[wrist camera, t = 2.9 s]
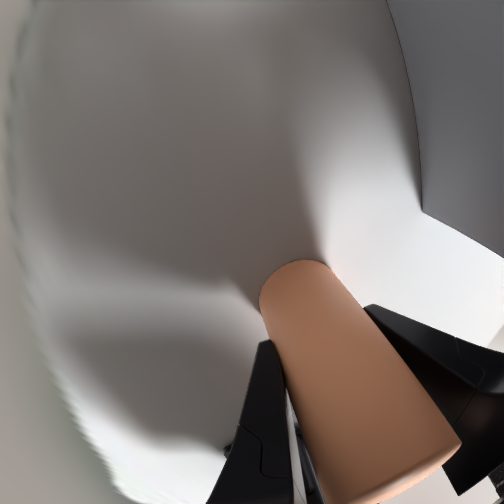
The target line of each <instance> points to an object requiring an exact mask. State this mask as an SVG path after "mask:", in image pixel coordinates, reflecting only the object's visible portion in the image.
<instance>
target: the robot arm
mask: <svg viewBox="0 0 504 504" xmlns="http://www.w3.org/2000/svg"><path fill="white" fill-rule="evenodd" d="M363 309H364V311H365V312H366V313H367V314H368V316H369V317H370V318H371V319H372V321H373V322H374V323H375V324H376V326H377V327H378V328H379V330H380V331H381V332H382V333H383V335H384V336H385V337H386V338H387V340H388V341H389V342H390V344H391V345H392V346H393V347H394V349H395V350H396V351H397V353H398V354H399V355H400V357H401V358H402V359H403V361H404V362H405V363H406V365H407V366H408V367H409V369H410V370H411V371H412V373H413V374H414V375H415V377H416V378H417V379H418V381H419V382H420V383H421V385H422V386H423V388H424V389H425V390H426V392H427V393H428V394H429V396H430V397H431V399H432V400H433V401H434V403H435V404H436V406H437V407H438V408H439V410H440V411H441V413H442V414H443V416H444V417H445V418H446V420H447V421H448V423H449V424H450V426H451V427H452V429H453V430H454V432H455V433H456V435H457V436H458V438H459V439H460V441H461V442H462V444H461V446H460V447H459V449H458V450H457V451H456V452H455V453H454V454H453V455H452V456H451V457H450V458H449V459H448V460H447V461H446V462H445V463H444V464H443V465H441V466H442V468H443V469H444V471H445V473H446V475H447V477H448V478H449V480H450V482H451V484H452V486H453V488H454V490H455V491H456V493H457V495H458V496H460V495H462V494H463V493H465V492H466V491H468V490H469V489H470V488H472V487H473V486H475V485H476V484H477V483H479V482H480V481H481V480H483V479H484V478H485V477H486V476H488V477H489V478H490V480H491V482H492V483H493V485H494V487H495V488H496V492H497V493H498V495H499V497H500V498H499V499H498V500H497V501H496V502H495V503H493V504H504V353H502V352H498V351H494V350H491V349H488V348H485V347H482V346H478V345H475V344H473V343H470V342H467V341H465V340H462V339H460V338H457V337H456V338H455V337H454V336H452V335H450V334H447V333H445V332H442V331H440V330H437V329H435V328H432V327H430V326H428V325H425V324H423V323H420V322H418V321H415V320H413V319H410V318H408V317H405V316H403V315H400V314H398V313H396V312H393V311H391V310H388V309H386V308H383V307H381V306H378V305H376V304H371V305H368V306H366V307H364V308H363ZM223 450H224V456H225V457H226V458H227V460H226V462H225V465H224V467H223V469H222V471H221V473H220V476H219V478H218V480H217V482H216V484H215V486H214V489H213V491H212V493H211V495H210V497H209V499H208V500H207V502H206V504H326V502H325V499H324V496H323V493H322V490H321V488H320V485H319V482H318V479H317V476H316V473H315V470H314V468H313V465H312V462H311V459H310V456H309V453H308V450H307V447H306V445H305V442H304V439H303V436H302V433H301V430H300V428H299V429H296V430H295V428H294V422H293V416H292V411H291V405H290V400H289V396H288V392H287V389H286V386H285V382H284V378H283V374H282V370H281V366H280V363H279V360H278V357H277V354H276V351H275V348H274V346H273V343H272V340H270V339H269V340H265V341H262V342H260V343H259V344H258V348H257V352H256V356H255V360H254V364H253V368H252V372H251V376H250V380H249V384H248V388H247V392H246V396H245V400H244V404H243V408H242V412H241V416H240V419H239V425H238V427H237V430H236V434H235V437H234V441H233V444H232V446H228V447H225V448H224V449H223ZM378 504H379V503H378Z"/></svg>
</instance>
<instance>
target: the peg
mask: <svg viewBox="0 0 504 504" xmlns="http://www.w3.org/2000/svg"><path fill="white" fill-rule="evenodd" d="M259 307H260V311H261V314H262V317H263V320H264V323H265V326H266V329H267V332H268V335H269V338H270V340H272V343H273V346H274V348H275V351H276V354H277V357H278V360H279V363H280V366H281V370H282V374H283V378H284V382H285V386H286V389H287V392H288V395H289V398H290V401H291V404H292V407H293V410H294V412H295V415H296V418H297V421H298V424H299V427H300V430H301V433H302V436H303V439H304V442H305V445H306V447H307V450H308V453H309V456H310V459H311V462H312V465H313V468H314V470H315V473H316V476H317V479H318V482H319V485H320V488H321V490H322V493H323V496H324V499H325V502H326V504H378V503H380V502H382V501H384V500H387V499H389V498H391V497H393V496H395V495H397V494H399V493H401V492H402V491H404V490H406V489H408V488H409V487H411V486H413V485H414V484H416V483H417V482H419V481H421V480H422V479H424V478H425V477H426V476H428V475H430V474H431V473H432V472H433V471H435V470H436V469H438V468H439V467H440V466H441V465H443V464H444V463H445V462H446V461H447V460H448V459H449V458H450V457H451V456H452V455H453V454H454V453H455V452H456V451H457V450H458V449H459V447H460V446H461V444H462V442H461V441H460V439H459V438H458V436H457V435H456V433H455V432H454V430H453V429H452V427H451V426H450V424H449V423H448V421H447V420H446V418H445V417H444V416H443V414H442V413H441V411H440V410H439V408H438V407H437V406H436V404H435V403H434V401H433V400H432V399H431V397H430V396H429V394H428V393H427V392H426V390H425V389H424V388H423V386H422V385H421V383H420V382H419V381H418V379H417V378H416V377H415V375H414V374H413V373H412V371H411V370H410V369H409V367H408V366H407V365H406V363H405V362H404V361H403V359H402V358H401V357H400V355H399V354H398V353H397V351H396V350H395V349H394V347H393V346H392V345H391V344H390V342H389V341H388V340H387V338H386V337H385V336H384V335H383V333H382V332H381V331H380V330H379V328H378V327H377V326H376V324H375V323H374V322H373V321H372V319H371V318H370V317H369V316H368V314H367V313H366V312H365V311H364V309H363V308H362V307H361V306H360V305H359V303H358V302H357V301H356V300H355V298H354V297H353V296H352V295H351V294H350V292H349V291H348V290H347V289H346V287H345V286H344V285H343V284H342V283H341V281H340V280H339V279H338V278H337V277H336V276H335V274H334V273H333V272H332V271H331V270H330V269H329V268H328V267H327V266H326V265H324V264H323V263H321V262H318V261H315V260H297V261H293V262H290V263H287V264H285V265H283V266H282V267H280V268H278V269H277V270H276V271H275V272H273V273H272V274H271V275H270V276H269V277H268V279H267V280H266V281H265V283H264V285H263V287H262V289H261V292H260V295H259Z"/></svg>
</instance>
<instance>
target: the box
mask: <svg viewBox="0 0 504 504" xmlns="http://www.w3.org/2000/svg"><path fill="white" fill-rule="evenodd" d="M387 3H388V6H389V9H390V12H391V15H392V18H393V21H394V24H395V27H396V30H397V34H398V37H399V41H400V44H401V48H402V52H403V56H404V60H405V64H406V68H407V73H408V78H409V82H410V87H411V93H412V98H413V104H414V110H415V117H416V124H417V132H418V140H419V150H420V162H421V176H422V203H423V213H425V214H427V215H429V216H431V217H433V218H435V219H437V220H438V221H440V222H442V223H444V224H446V225H448V226H450V227H452V228H453V229H455V230H457V231H459V232H461V233H462V234H464V235H466V236H468V237H469V238H471V239H473V240H475V241H476V242H478V243H480V244H481V245H483V246H485V247H486V248H488V249H490V250H491V251H493V252H495V253H496V254H498V255H499V256H501V257H502V258H504V0H387Z"/></svg>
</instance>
